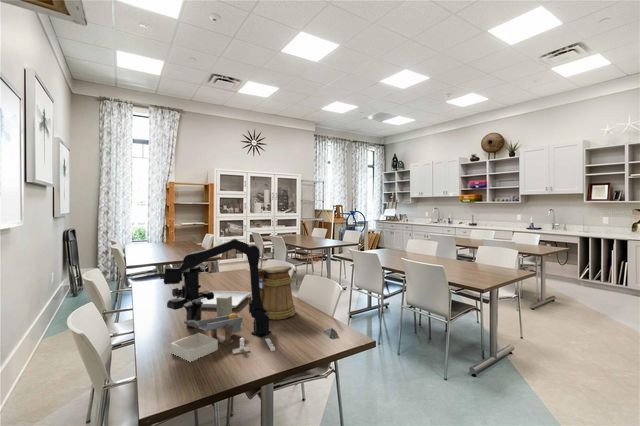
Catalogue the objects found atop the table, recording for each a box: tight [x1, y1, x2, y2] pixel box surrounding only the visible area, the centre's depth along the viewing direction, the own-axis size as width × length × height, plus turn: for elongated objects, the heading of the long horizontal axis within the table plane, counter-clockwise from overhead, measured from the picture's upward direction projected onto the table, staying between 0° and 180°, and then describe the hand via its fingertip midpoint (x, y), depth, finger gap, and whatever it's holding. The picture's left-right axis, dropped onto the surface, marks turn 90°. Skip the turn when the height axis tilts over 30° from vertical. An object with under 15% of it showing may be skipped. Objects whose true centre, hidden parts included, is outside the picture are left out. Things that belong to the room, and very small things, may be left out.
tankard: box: [250, 265, 297, 321], centre depth 164 cm, size 18×24×25 cm
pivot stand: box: [208, 324, 234, 346], centre depth 133 cm, size 4×11×8 cm, turn 56°
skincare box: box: [216, 296, 233, 317], centre depth 154 cm, size 6×4×12 cm
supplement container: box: [185, 304, 203, 329], centre depth 148 cm, size 7×7×10 cm
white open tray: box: [170, 332, 219, 363], centre depth 123 cm, size 12×12×4 cm
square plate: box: [201, 290, 252, 309], centre depth 184 cm, size 27×27×4 cm
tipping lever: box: [183, 315, 244, 333], centre depth 135 cm, size 18×16×6 cm
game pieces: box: [231, 327, 339, 356], centre depth 133 cm, size 45×13×6 cm, turn 112°
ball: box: [229, 312, 238, 319], centre depth 139 cm, size 4×4×4 cm
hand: (191, 319), depth 133 cm, fingers closed
